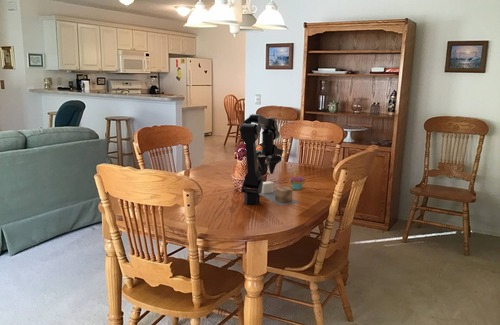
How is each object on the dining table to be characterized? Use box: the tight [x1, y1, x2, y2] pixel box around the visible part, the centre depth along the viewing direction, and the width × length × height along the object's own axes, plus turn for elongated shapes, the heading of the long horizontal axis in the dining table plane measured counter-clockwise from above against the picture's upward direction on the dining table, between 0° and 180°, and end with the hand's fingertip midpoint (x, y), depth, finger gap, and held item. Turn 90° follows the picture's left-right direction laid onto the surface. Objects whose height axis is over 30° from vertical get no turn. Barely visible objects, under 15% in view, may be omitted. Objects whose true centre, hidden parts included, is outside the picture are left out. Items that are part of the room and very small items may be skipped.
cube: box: [274, 186, 294, 203], centre depth 204 cm, size 6×6×6 cm
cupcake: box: [288, 168, 306, 191], centre depth 229 cm, size 9×8×12 cm
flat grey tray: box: [259, 180, 300, 206], centre depth 211 cm, size 11×25×6 cm, turn 27°
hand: (267, 172), depth 218 cm, fingers open, 9 cm apart
